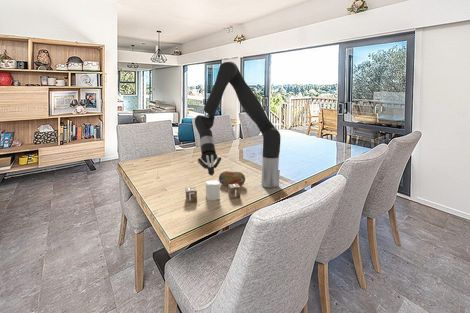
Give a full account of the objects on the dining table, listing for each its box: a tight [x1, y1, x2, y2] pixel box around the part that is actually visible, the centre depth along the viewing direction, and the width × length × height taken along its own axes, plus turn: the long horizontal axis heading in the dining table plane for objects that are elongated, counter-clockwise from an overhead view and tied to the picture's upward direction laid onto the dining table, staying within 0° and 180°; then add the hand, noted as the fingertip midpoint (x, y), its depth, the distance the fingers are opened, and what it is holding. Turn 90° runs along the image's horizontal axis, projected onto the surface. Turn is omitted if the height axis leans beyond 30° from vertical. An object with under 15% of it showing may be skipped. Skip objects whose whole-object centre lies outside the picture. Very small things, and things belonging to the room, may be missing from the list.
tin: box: [218, 170, 246, 187], centre depth 153 cm, size 15×3×8 cm, turn 76°
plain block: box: [205, 180, 221, 201], centre depth 136 cm, size 6×6×8 cm
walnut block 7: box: [185, 186, 198, 204], centre depth 132 cm, size 5×5×6 cm
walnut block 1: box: [227, 184, 241, 200], centre depth 138 cm, size 5×5×6 cm
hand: (211, 174), depth 136 cm, fingers closed
